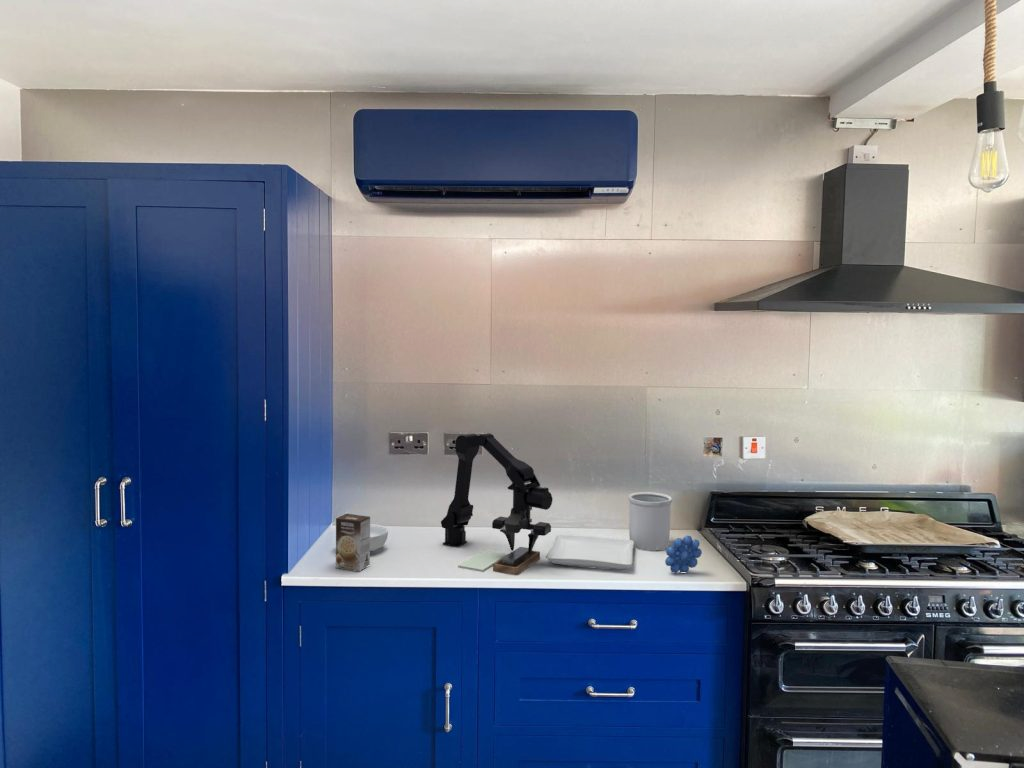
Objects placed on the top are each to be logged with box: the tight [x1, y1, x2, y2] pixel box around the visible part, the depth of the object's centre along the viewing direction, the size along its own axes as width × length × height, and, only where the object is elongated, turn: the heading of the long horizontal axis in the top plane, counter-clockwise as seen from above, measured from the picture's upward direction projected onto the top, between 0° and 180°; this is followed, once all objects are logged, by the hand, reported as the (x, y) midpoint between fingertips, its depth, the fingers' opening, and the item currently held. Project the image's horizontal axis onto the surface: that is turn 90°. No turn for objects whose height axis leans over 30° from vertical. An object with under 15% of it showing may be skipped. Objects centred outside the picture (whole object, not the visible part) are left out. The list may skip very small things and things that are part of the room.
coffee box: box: [335, 513, 371, 572], centre depth 209 cm, size 9×6×16 cm
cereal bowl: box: [370, 523, 389, 552], centre depth 226 cm, size 17×17×7 cm
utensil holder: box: [628, 491, 673, 552], centre depth 235 cm, size 15×15×18 cm
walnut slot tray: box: [492, 547, 541, 576], centre depth 213 cm, size 8×18×2 cm, turn 155°
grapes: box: [664, 535, 702, 573], centre depth 207 cm, size 12×7×12 cm, turn 96°
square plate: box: [545, 534, 634, 570], centre depth 221 cm, size 27×27×4 cm
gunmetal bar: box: [502, 546, 531, 567], centre depth 213 cm, size 4×14×3 cm, turn 155°
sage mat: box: [457, 549, 509, 572], centre depth 216 cm, size 9×18×1 cm, turn 155°
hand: (521, 551), depth 216 cm, fingers open, 6 cm apart
